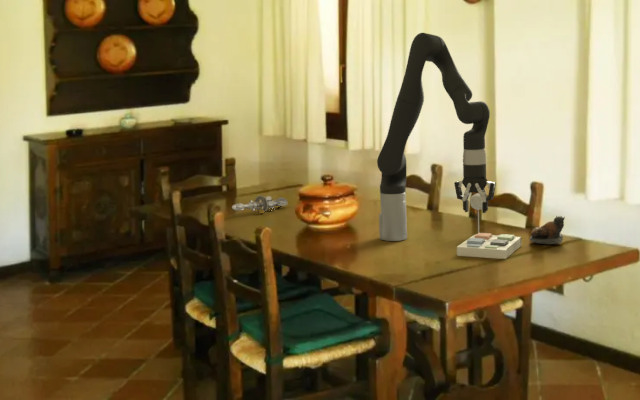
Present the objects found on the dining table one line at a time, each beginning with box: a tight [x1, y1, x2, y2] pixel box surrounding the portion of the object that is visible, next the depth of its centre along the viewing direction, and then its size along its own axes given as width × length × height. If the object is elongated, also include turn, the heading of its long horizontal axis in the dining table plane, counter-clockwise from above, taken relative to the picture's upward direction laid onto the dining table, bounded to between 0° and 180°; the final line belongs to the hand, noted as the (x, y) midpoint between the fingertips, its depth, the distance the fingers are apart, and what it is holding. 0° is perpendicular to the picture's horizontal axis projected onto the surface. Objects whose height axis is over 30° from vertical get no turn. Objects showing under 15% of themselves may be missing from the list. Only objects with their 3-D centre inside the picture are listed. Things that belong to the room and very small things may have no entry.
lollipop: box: [469, 193, 483, 234], centre depth 327 cm, size 6×6×15 cm
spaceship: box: [231, 195, 289, 212], centre depth 386 cm, size 8×35×8 cm
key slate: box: [467, 237, 485, 245], centre depth 303 cm, size 5×5×2 cm
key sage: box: [497, 233, 515, 241], centre depth 306 cm, size 5×5×2 cm
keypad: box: [456, 233, 522, 260], centre depth 303 cm, size 16×20×3 cm
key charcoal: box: [490, 239, 508, 246], centre depth 299 cm, size 5×5×2 cm
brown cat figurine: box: [529, 215, 565, 245], centre depth 308 cm, size 12×7×10 cm, turn 56°
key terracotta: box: [474, 232, 493, 240], centre depth 310 cm, size 5×5×2 cm
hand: (475, 212), depth 301 cm, fingers open, 5 cm apart
